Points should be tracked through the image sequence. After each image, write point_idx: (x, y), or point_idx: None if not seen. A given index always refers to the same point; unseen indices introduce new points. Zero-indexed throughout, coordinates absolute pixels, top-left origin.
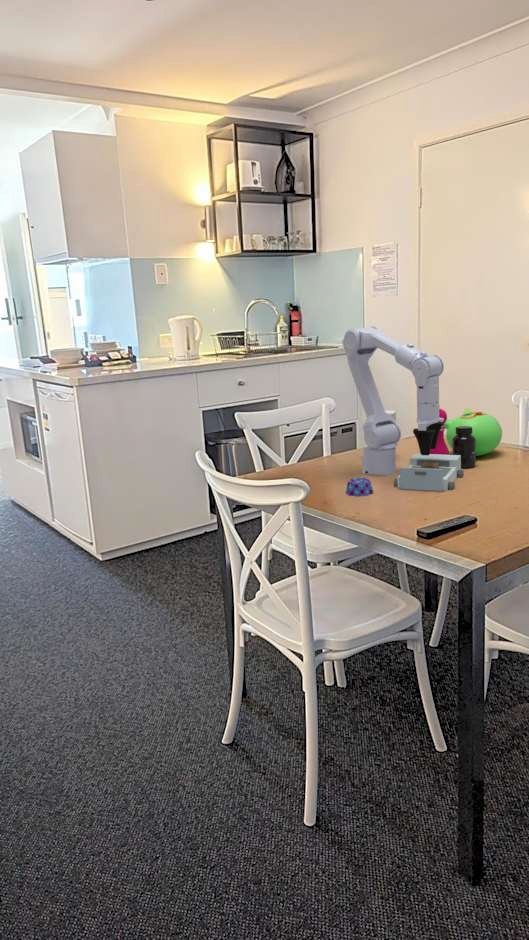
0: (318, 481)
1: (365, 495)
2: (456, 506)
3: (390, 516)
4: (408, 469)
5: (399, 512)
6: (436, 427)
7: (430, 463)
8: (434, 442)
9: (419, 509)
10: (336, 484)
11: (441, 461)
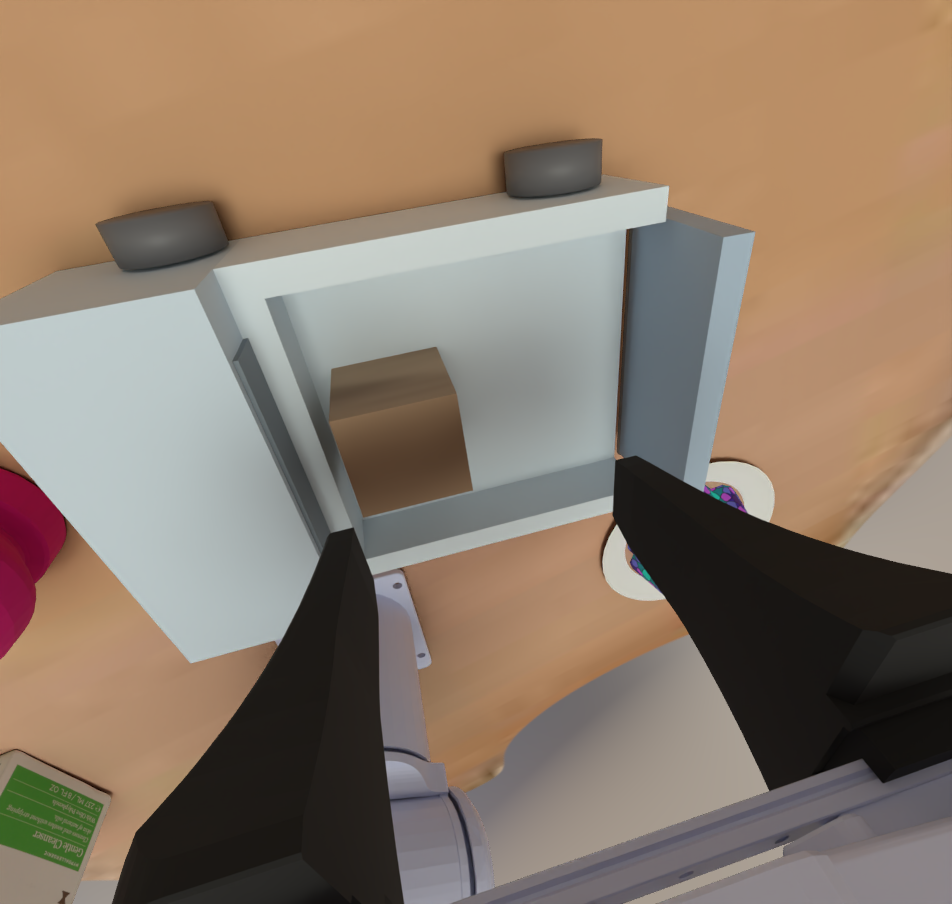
0: (512, 719)
1: (746, 511)
2: (819, 6)
3: (936, 313)
4: (699, 476)
5: (888, 303)
6: (339, 795)
7: (386, 464)
8: (354, 588)
9: (855, 231)
10: (530, 671)
11: (268, 423)
